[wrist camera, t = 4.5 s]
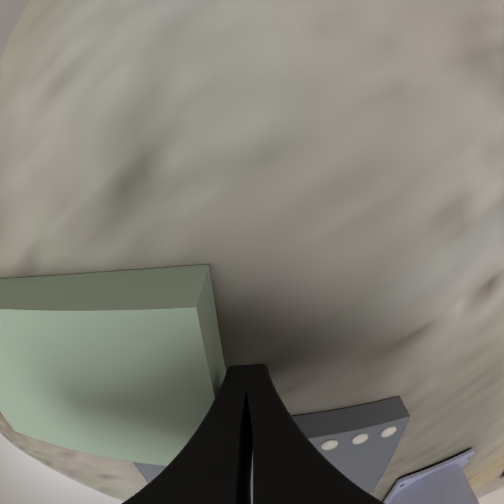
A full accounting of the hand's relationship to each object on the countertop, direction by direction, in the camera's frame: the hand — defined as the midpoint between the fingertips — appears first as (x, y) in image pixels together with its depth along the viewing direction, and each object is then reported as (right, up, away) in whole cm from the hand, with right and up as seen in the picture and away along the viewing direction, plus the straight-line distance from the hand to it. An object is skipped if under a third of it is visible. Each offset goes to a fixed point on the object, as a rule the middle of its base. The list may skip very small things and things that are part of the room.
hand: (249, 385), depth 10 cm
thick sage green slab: (-7, 0, +2) cm, 7 cm away
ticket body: (+1, -8, +4) cm, 9 cm away
